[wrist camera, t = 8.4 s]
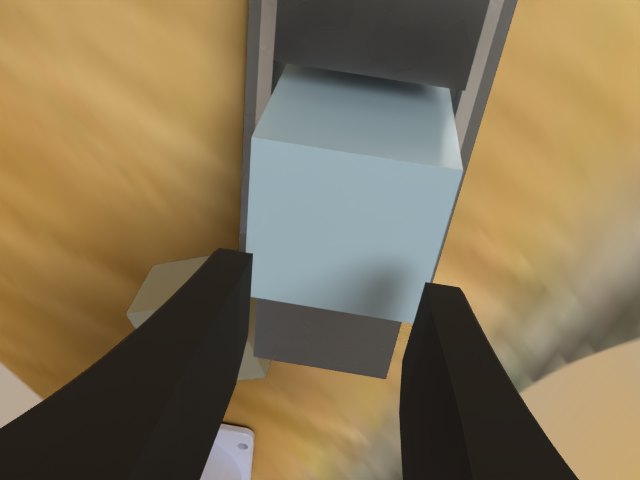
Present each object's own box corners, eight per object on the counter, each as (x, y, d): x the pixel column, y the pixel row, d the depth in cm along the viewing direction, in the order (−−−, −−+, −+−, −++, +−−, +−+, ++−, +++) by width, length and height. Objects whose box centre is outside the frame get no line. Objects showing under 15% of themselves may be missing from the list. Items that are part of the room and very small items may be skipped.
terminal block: (280, 322, 24) (266, 377, 22) (194, 333, 25) (172, 387, 23) (246, 246, 22) (227, 298, 20) (154, 262, 23) (125, 313, 21)
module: (415, 189, 18) (419, 324, 13) (284, 168, 18) (241, 295, 13) (446, 63, 16) (465, 171, 11) (296, 40, 16) (249, 137, 11)
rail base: (429, 271, 22) (435, 387, 17) (244, 241, 22) (204, 348, 17) (537, -96, 15) (595, -60, 10) (262, -136, 15) (201, -118, 10)
